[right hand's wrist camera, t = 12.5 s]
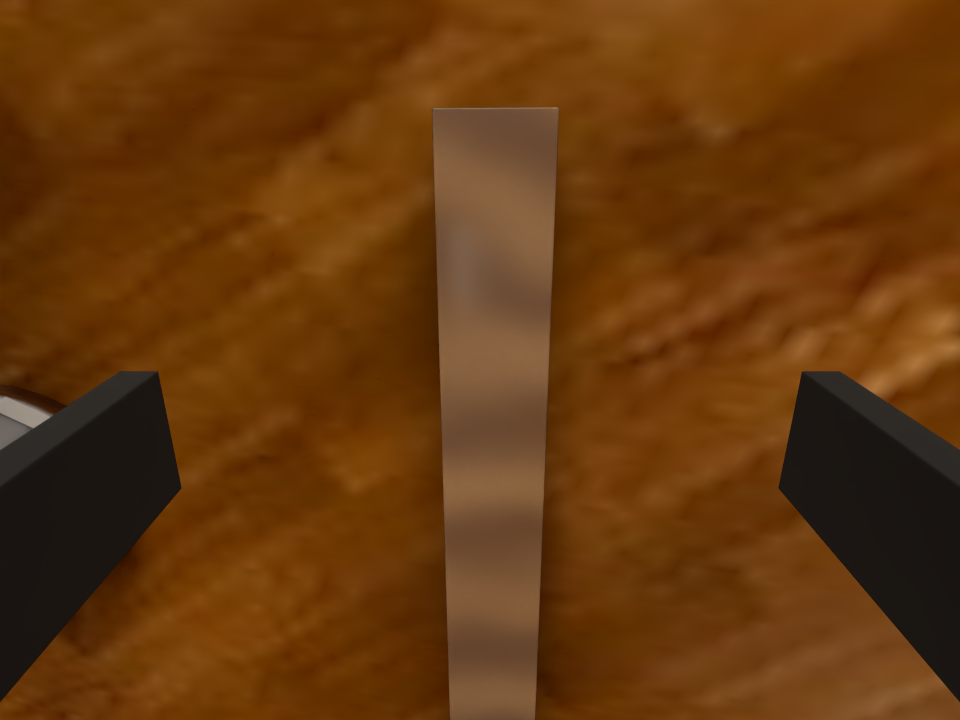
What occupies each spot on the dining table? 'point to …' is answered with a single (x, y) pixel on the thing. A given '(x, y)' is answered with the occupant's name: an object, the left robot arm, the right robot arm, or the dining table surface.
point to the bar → (494, 393)
